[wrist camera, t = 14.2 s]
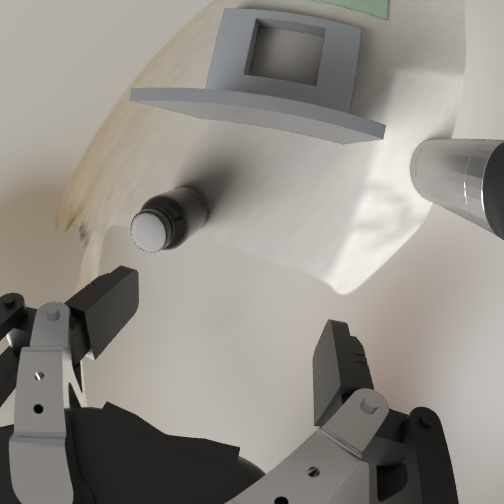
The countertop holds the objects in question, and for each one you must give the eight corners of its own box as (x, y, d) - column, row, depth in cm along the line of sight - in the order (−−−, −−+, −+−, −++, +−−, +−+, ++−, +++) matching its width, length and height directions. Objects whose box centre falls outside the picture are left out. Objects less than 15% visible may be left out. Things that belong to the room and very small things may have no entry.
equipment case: (357, 36, 26) (396, -37, 9) (339, 145, 33) (383, 139, 15) (229, 16, 28) (181, -57, 10) (207, 120, 34) (129, 100, 16)
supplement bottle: (194, 240, 41) (158, 273, 30) (159, 213, 40) (114, 238, 29) (218, 203, 38) (186, 226, 27) (181, 176, 37) (137, 188, 26)
